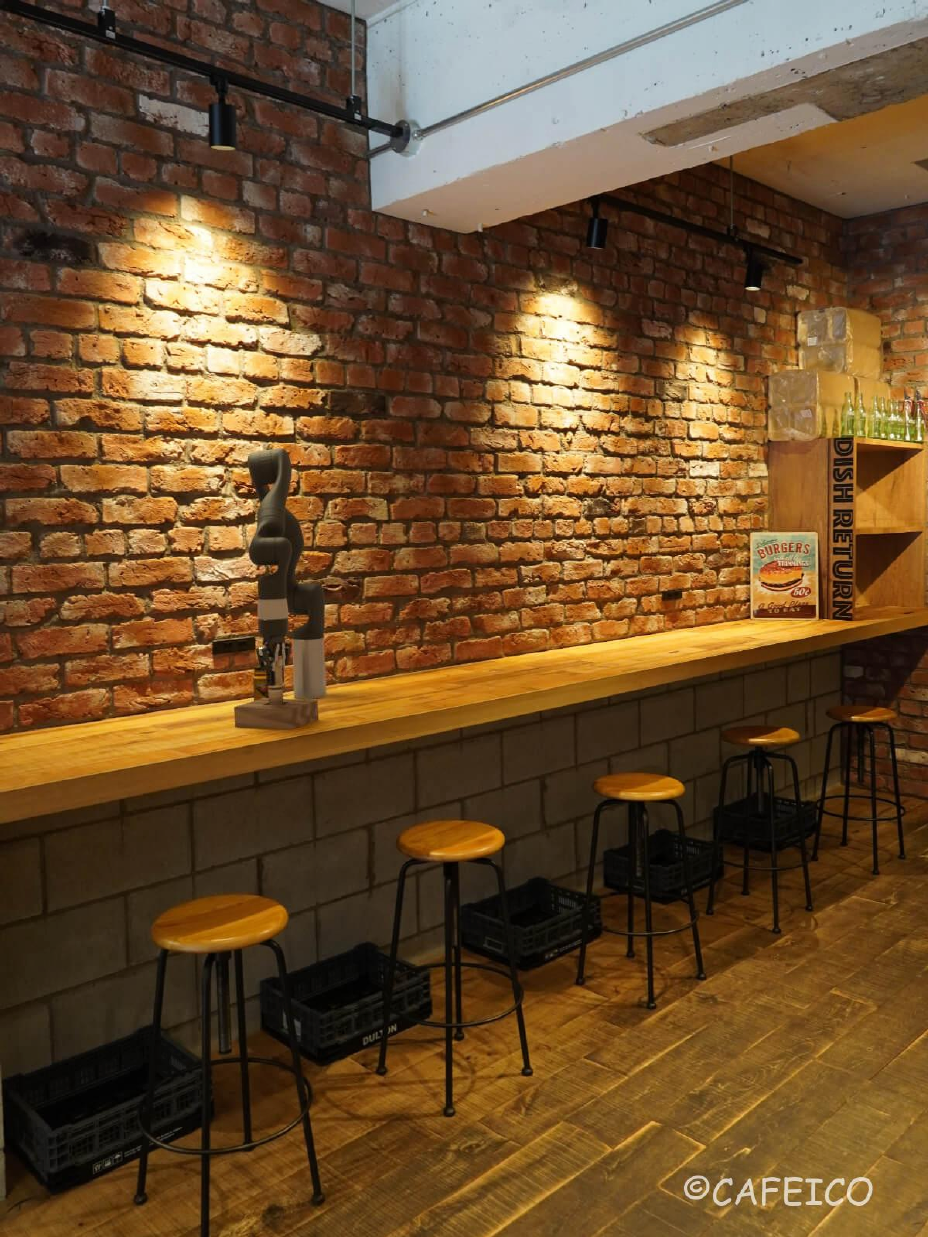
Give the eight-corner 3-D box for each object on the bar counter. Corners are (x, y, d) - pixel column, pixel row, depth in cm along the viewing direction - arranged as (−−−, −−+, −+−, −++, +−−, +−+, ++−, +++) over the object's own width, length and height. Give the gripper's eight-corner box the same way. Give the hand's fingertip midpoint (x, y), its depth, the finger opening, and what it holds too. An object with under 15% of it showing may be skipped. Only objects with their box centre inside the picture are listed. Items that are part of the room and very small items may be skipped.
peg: (273, 707, 268) (271, 656, 266) (286, 707, 266) (284, 656, 265) (266, 709, 264) (264, 658, 263) (278, 710, 263) (277, 658, 262)
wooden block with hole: (264, 716, 275) (263, 698, 274) (318, 719, 269) (317, 700, 269) (235, 726, 262) (234, 707, 261) (291, 729, 256) (290, 709, 256)
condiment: (266, 712, 282) (264, 668, 281) (242, 710, 286) (240, 666, 285) (283, 707, 289) (282, 664, 288) (260, 705, 293) (258, 663, 292)
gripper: (274, 614, 271) (276, 680, 273) (244, 619, 258) (247, 688, 259) (300, 614, 268) (302, 681, 270) (271, 619, 255) (273, 689, 257)
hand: (275, 684), depth 265 cm, fingers closed on peg, 3 cm apart
